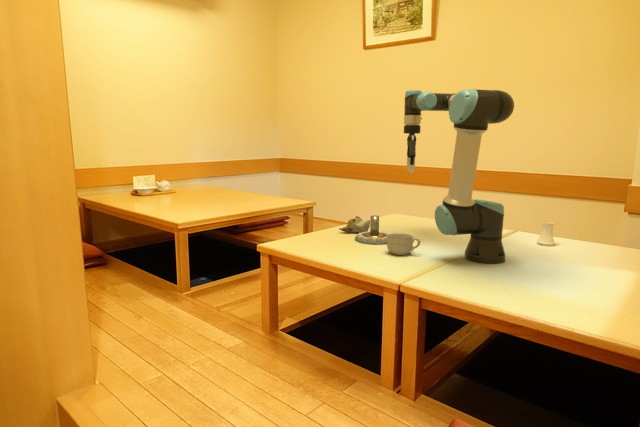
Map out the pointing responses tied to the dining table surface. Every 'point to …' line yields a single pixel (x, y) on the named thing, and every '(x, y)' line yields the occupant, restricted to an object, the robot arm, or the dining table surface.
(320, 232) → the dining table surface
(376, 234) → the sun gear
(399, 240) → the teacup
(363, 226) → the ceramic sculpture
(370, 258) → the dining table surface
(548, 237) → the vase
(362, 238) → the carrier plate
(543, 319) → the dining table surface
